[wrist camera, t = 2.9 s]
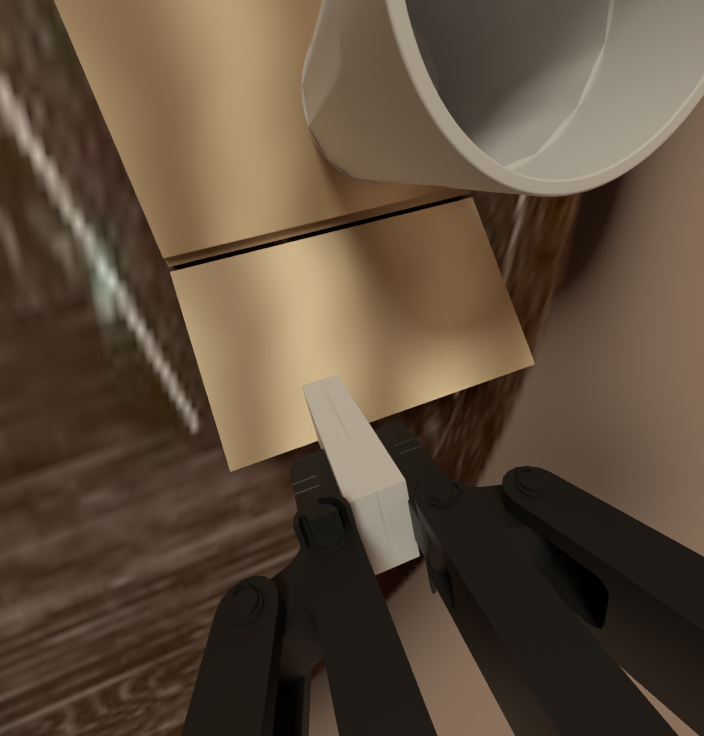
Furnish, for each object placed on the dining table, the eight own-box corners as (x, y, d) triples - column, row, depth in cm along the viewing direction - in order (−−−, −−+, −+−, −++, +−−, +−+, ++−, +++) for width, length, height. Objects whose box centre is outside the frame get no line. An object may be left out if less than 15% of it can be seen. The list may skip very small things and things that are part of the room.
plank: (235, 467, 16) (230, 471, 15) (179, 282, 17) (169, 271, 16) (520, 367, 19) (534, 364, 18) (461, 210, 19) (472, 197, 18)
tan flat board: (171, 264, 16) (167, 267, 15) (58, -8, 12) (41, -30, 11) (460, 194, 19) (473, 192, 18) (444, -50, 15) (460, -70, 14)
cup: (440, 199, 19) (697, 189, 8) (289, 207, 17) (377, 205, 6) (450, -3, 16) (901, -445, 5) (264, -22, 14) (364, -802, 3)
